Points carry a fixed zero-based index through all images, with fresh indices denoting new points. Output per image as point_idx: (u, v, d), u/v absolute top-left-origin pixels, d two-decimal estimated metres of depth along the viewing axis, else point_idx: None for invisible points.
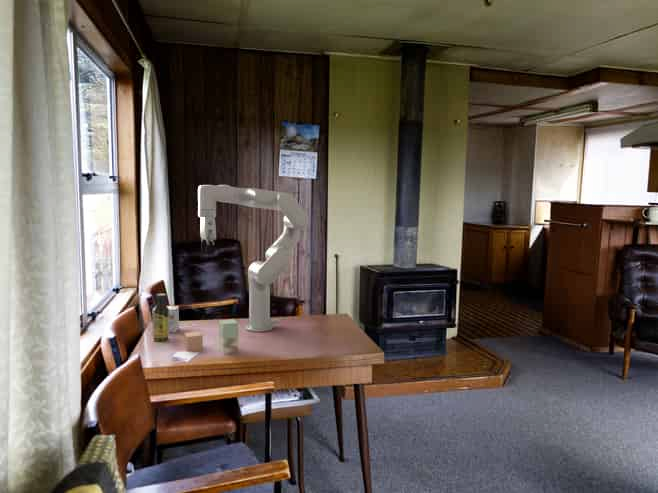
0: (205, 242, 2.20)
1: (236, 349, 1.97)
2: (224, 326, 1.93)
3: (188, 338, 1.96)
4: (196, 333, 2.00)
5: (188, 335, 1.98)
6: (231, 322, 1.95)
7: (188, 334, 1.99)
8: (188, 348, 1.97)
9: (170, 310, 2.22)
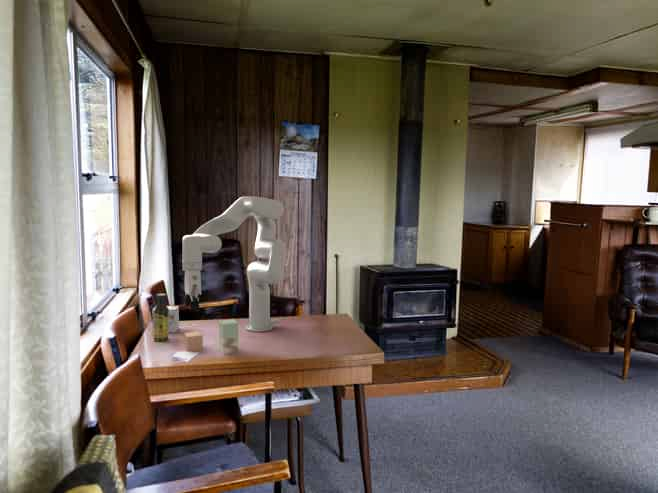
0: (190, 296, 2.02)
1: (236, 349, 1.97)
2: (224, 326, 1.93)
3: (188, 338, 1.96)
4: (196, 333, 2.00)
5: (188, 335, 1.98)
6: (231, 322, 1.95)
7: (188, 334, 1.99)
8: (188, 348, 1.97)
9: (170, 310, 2.22)
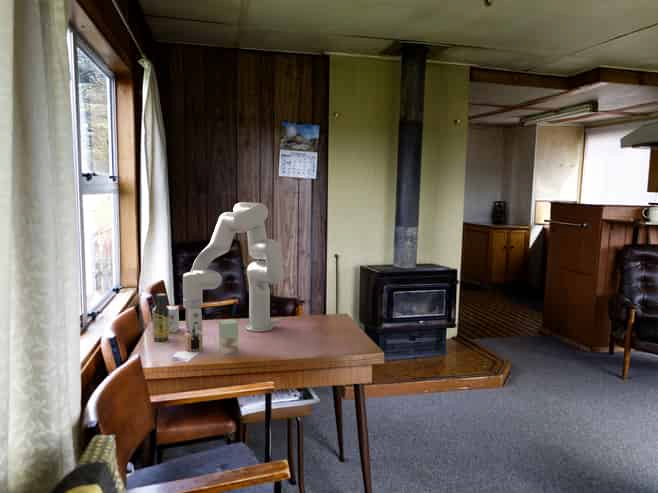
0: None
1: (236, 349, 1.97)
2: (224, 326, 1.93)
3: (188, 338, 1.96)
4: None
5: (188, 335, 1.98)
6: (231, 322, 1.95)
7: (188, 334, 1.99)
8: (188, 348, 1.97)
9: (170, 310, 2.22)
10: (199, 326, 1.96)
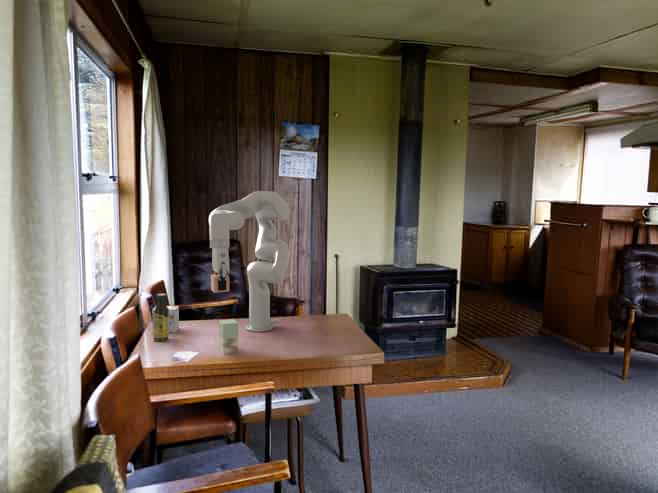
0: None
1: (236, 349, 1.97)
2: (224, 326, 1.93)
3: (215, 279, 1.92)
4: None
5: (214, 276, 1.94)
6: (231, 322, 1.95)
7: (214, 275, 1.95)
8: (215, 289, 1.92)
9: (170, 310, 2.22)
10: (226, 266, 1.91)
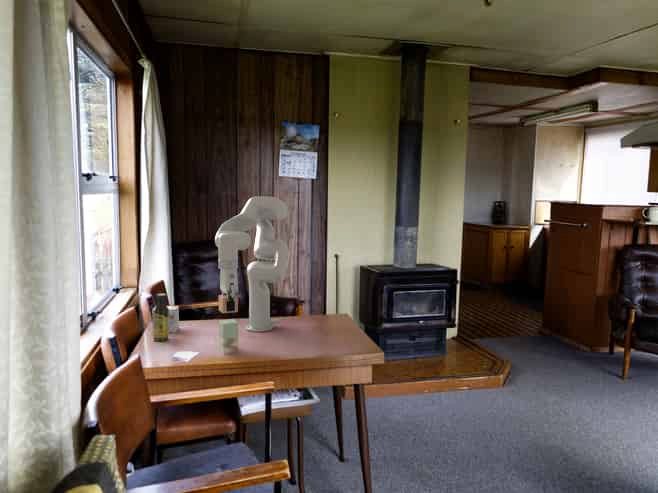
0: None
1: (236, 349, 1.97)
2: (224, 326, 1.93)
3: (223, 299, 1.92)
4: None
5: (223, 297, 1.94)
6: (231, 322, 1.95)
7: (223, 296, 1.95)
8: (223, 310, 1.92)
9: (170, 310, 2.22)
10: (235, 287, 1.91)
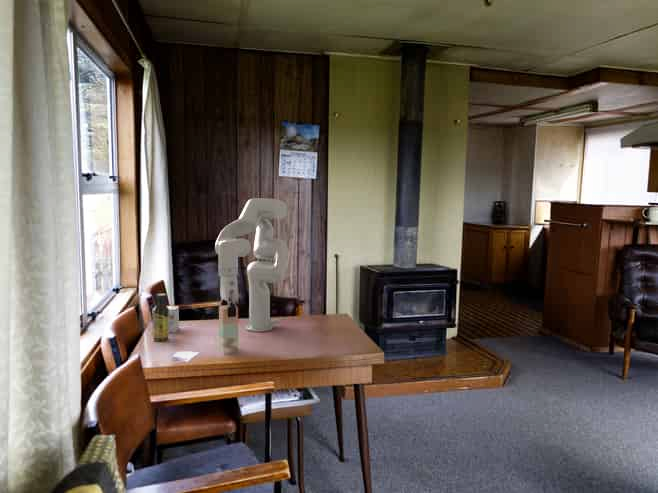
0: (225, 301, 2.00)
1: (236, 349, 1.97)
2: (224, 326, 1.93)
3: (223, 310, 1.93)
4: None
5: (223, 308, 1.94)
6: None
7: (223, 307, 1.96)
8: (223, 321, 1.93)
9: (170, 310, 2.22)
10: (235, 292, 1.92)
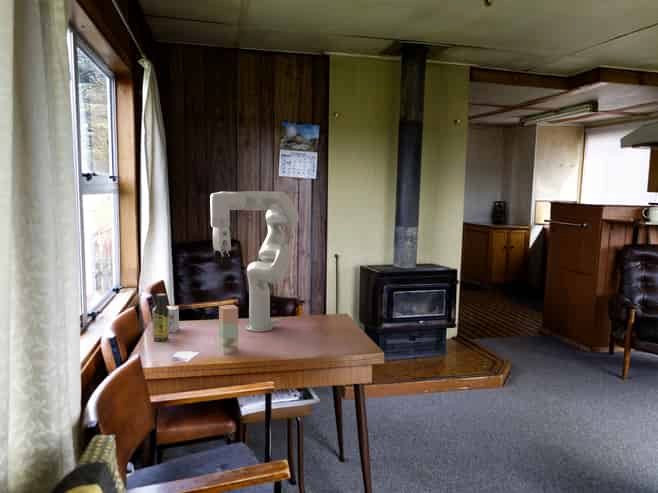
0: (218, 253, 2.08)
1: (236, 349, 1.97)
2: (224, 326, 1.93)
3: (224, 310, 1.93)
4: (231, 306, 1.97)
5: (223, 308, 1.94)
6: None
7: (223, 307, 1.96)
8: (224, 321, 1.93)
9: (170, 310, 2.22)
10: (228, 242, 2.00)
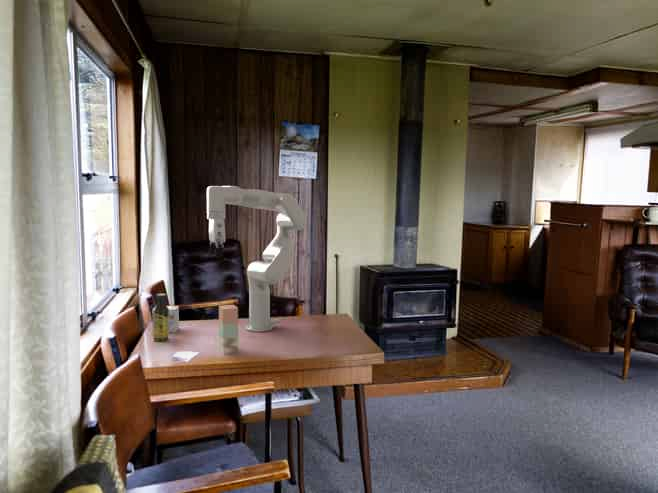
0: (214, 245, 2.14)
1: (236, 349, 1.97)
2: (224, 326, 1.93)
3: (223, 310, 1.93)
4: (231, 306, 1.97)
5: (223, 308, 1.94)
6: None
7: (223, 307, 1.96)
8: (223, 321, 1.93)
9: (170, 310, 2.22)
10: (222, 234, 2.05)
